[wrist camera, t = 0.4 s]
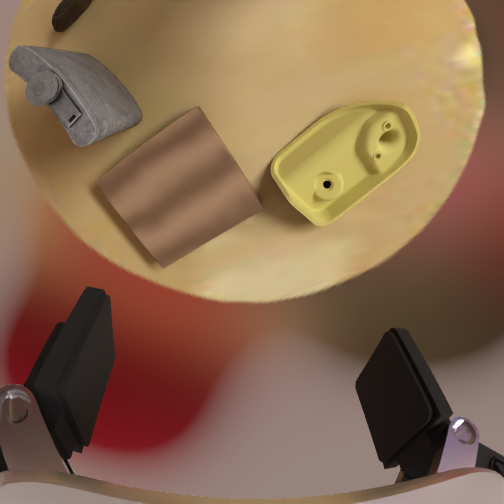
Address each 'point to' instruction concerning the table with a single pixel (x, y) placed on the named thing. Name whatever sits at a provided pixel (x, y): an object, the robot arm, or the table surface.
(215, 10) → the table surface
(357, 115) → the plastic component
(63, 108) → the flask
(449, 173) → the table surface
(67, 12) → the hand tool
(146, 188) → the brown flat square piece
